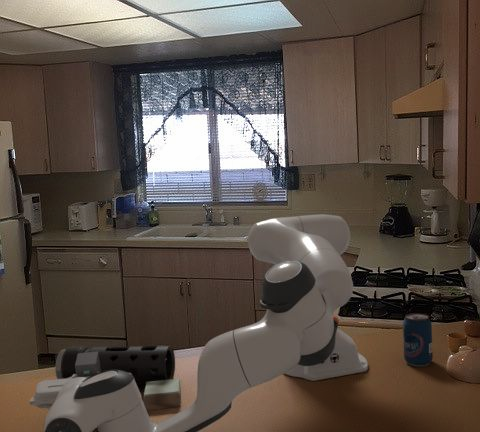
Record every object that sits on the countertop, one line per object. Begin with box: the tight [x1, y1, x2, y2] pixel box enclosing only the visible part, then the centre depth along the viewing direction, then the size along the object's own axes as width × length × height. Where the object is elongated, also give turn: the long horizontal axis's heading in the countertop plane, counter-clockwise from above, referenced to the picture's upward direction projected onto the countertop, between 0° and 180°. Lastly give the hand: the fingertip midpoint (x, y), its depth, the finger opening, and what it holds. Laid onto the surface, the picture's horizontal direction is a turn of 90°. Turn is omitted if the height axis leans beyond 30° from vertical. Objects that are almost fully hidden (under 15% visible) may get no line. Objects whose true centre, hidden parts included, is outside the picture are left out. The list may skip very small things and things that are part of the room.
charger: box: [75, 352, 101, 377], centre depth 132 cm, size 4×5×12 cm
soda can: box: [402, 312, 434, 367], centre depth 146 cm, size 7×7×12 cm
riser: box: [143, 378, 182, 411], centre depth 133 cm, size 8×8×4 cm
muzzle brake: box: [54, 345, 176, 388], centre depth 144 cm, size 10×28×10 cm, turn 82°
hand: (90, 375), depth 132 cm, fingers closed on charger, 4 cm apart
